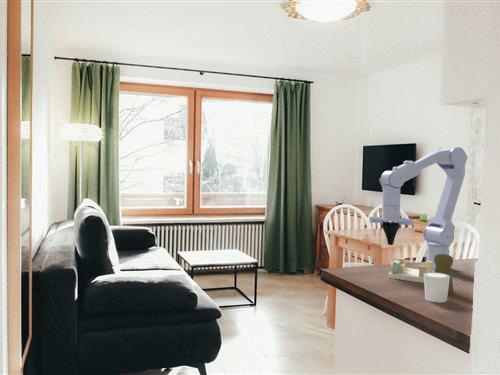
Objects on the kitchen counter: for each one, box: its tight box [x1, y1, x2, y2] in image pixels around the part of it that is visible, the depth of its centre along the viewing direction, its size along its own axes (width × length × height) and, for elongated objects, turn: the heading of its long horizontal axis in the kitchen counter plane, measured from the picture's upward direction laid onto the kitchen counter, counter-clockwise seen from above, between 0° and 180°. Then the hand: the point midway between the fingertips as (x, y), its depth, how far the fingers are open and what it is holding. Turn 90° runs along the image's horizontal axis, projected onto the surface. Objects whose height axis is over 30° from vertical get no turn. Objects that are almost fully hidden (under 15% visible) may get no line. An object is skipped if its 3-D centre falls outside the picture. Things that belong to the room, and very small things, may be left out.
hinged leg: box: [390, 259, 400, 273], centre depth 154 cm, size 9×2×3 cm, turn 156°
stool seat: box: [388, 257, 435, 284], centre depth 152 cm, size 12×12×5 cm
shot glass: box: [423, 271, 450, 304], centre depth 126 cm, size 7×7×7 cm
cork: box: [434, 254, 454, 295], centre depth 135 cm, size 6×6×11 cm
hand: (390, 244), depth 157 cm, fingers closed
